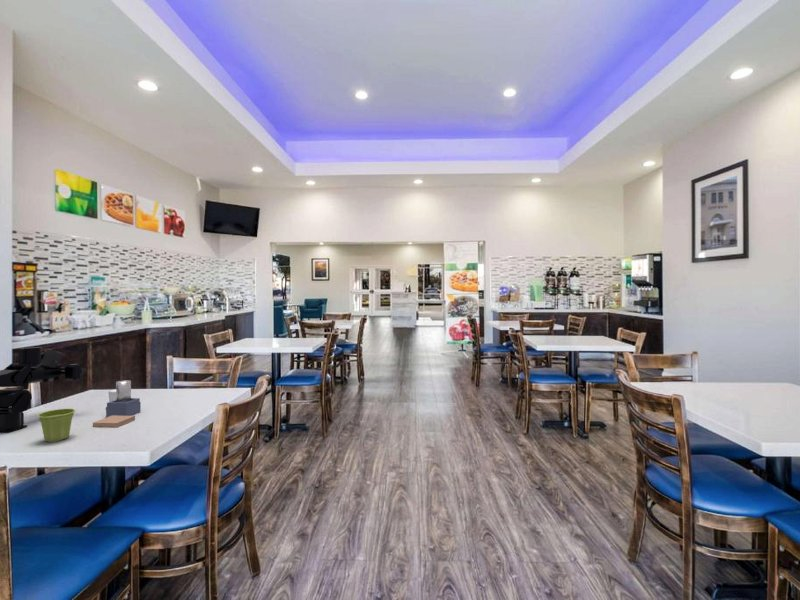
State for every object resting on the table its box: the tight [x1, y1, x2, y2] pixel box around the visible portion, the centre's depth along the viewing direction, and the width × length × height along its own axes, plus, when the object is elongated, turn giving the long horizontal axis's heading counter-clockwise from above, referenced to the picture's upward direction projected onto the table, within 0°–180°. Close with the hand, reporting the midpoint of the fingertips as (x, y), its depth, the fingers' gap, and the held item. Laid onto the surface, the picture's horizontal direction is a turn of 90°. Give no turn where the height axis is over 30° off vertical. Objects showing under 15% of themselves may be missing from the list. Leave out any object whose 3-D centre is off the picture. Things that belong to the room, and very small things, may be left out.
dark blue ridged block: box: [105, 397, 142, 418], centre depth 160 cm, size 8×8×6 cm
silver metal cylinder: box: [115, 379, 132, 403], centre depth 160 cm, size 5×5×9 cm
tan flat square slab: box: [92, 415, 136, 428], centre depth 149 cm, size 9×9×2 cm
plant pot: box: [37, 408, 76, 443], centre depth 132 cm, size 9×9×9 cm
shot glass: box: [107, 388, 116, 402], centre depth 172 cm, size 7×7×7 cm
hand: (76, 369), depth 167 cm, fingers open, 9 cm apart
